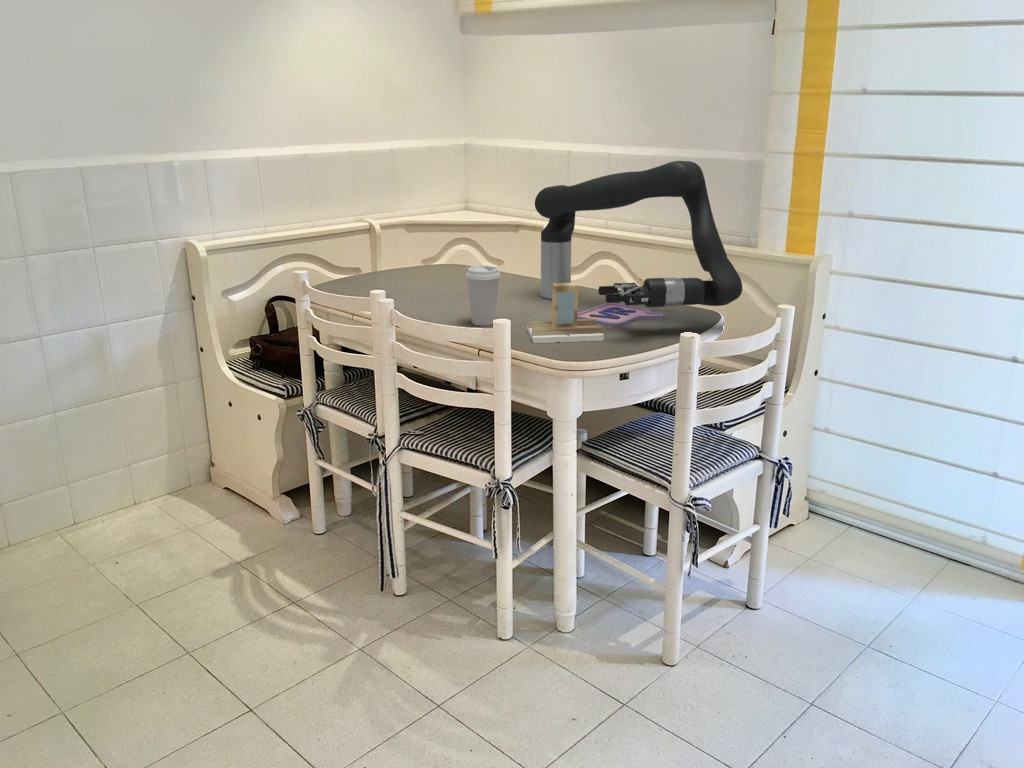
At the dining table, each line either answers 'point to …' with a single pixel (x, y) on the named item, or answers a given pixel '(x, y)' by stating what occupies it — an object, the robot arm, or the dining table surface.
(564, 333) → the ledge
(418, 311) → the dining table surface
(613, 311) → the icon
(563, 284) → the wooden block
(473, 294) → the coffee cup
